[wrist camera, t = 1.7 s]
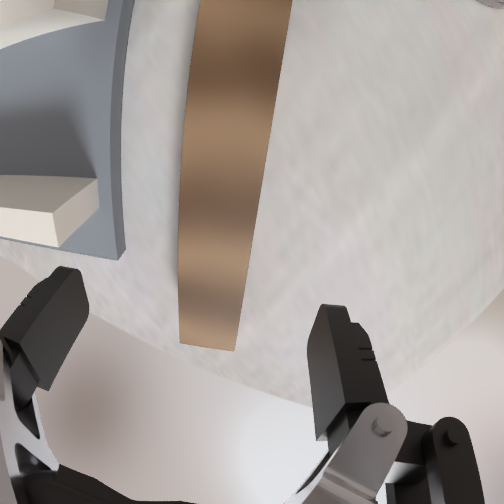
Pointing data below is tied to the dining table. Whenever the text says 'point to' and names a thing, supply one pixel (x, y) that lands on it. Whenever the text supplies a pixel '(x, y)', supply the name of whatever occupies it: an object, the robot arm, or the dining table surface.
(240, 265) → the brown wooden bar
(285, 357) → the dining table surface
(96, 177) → the ridge stand
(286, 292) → the dining table surface
